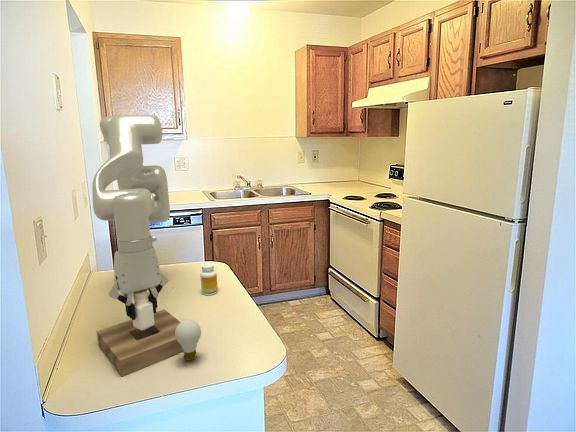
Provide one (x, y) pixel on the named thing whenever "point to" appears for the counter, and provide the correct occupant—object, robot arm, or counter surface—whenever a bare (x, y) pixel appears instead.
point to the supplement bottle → (208, 280)
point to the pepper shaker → (143, 310)
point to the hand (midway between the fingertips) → (142, 313)
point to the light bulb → (188, 337)
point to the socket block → (140, 343)
